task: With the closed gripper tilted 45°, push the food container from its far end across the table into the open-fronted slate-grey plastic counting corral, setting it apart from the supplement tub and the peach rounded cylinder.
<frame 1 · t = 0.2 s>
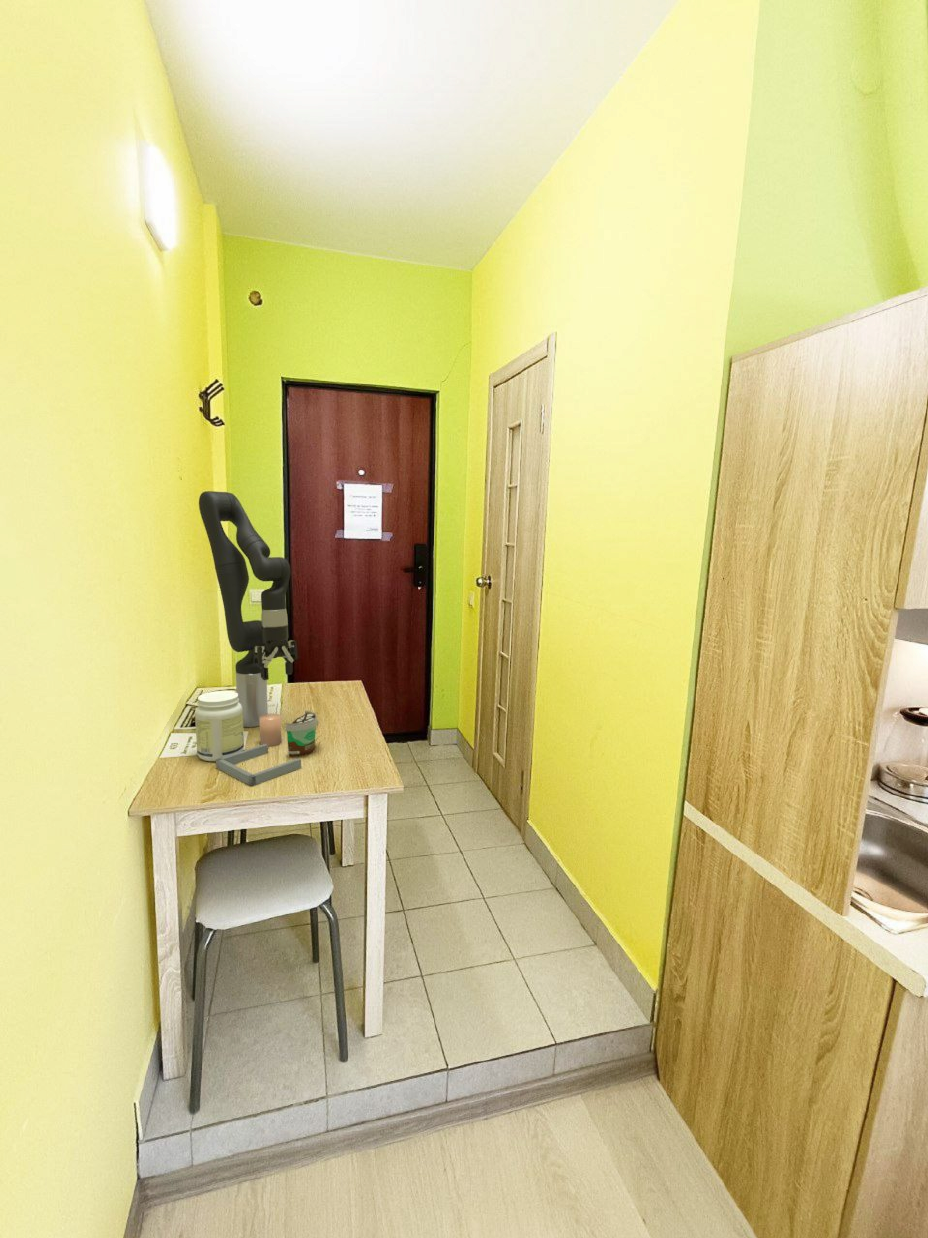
hand: (277, 677, 177), 18 cm above the table, tool pointing down, fingers open, 8 cm apart
counting corral: (258, 768, 155), on the table
supplement tub: (221, 754, 163), on the table
peach rounded cylinder: (271, 742, 173), on the table
food container: (306, 751, 167), on the table
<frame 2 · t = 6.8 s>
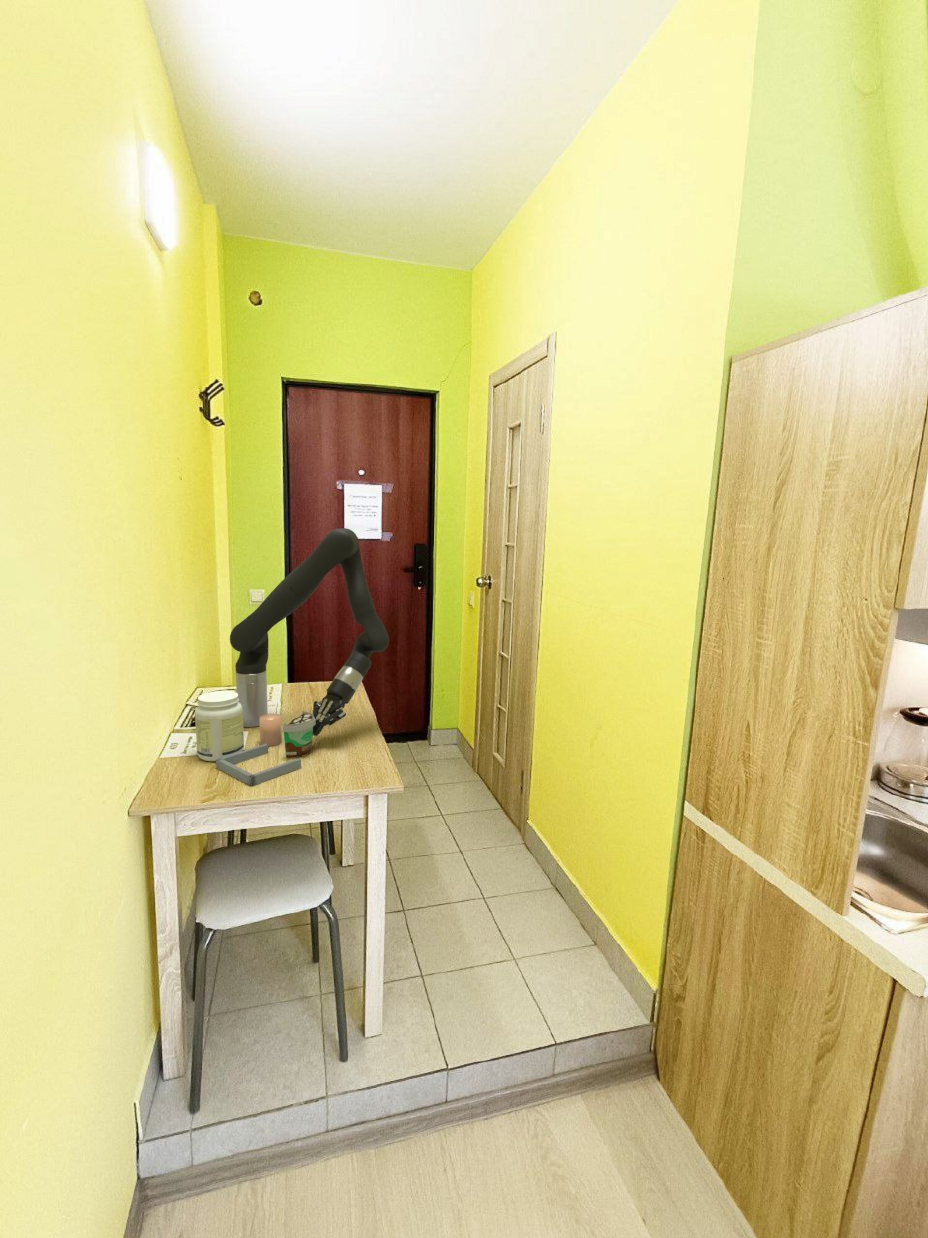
hand: (312, 734, 168), 4 cm above the table, tool tilted 45°, fingers closed
food container: (303, 752, 166), on the table, touching gripper
everything else where it was.
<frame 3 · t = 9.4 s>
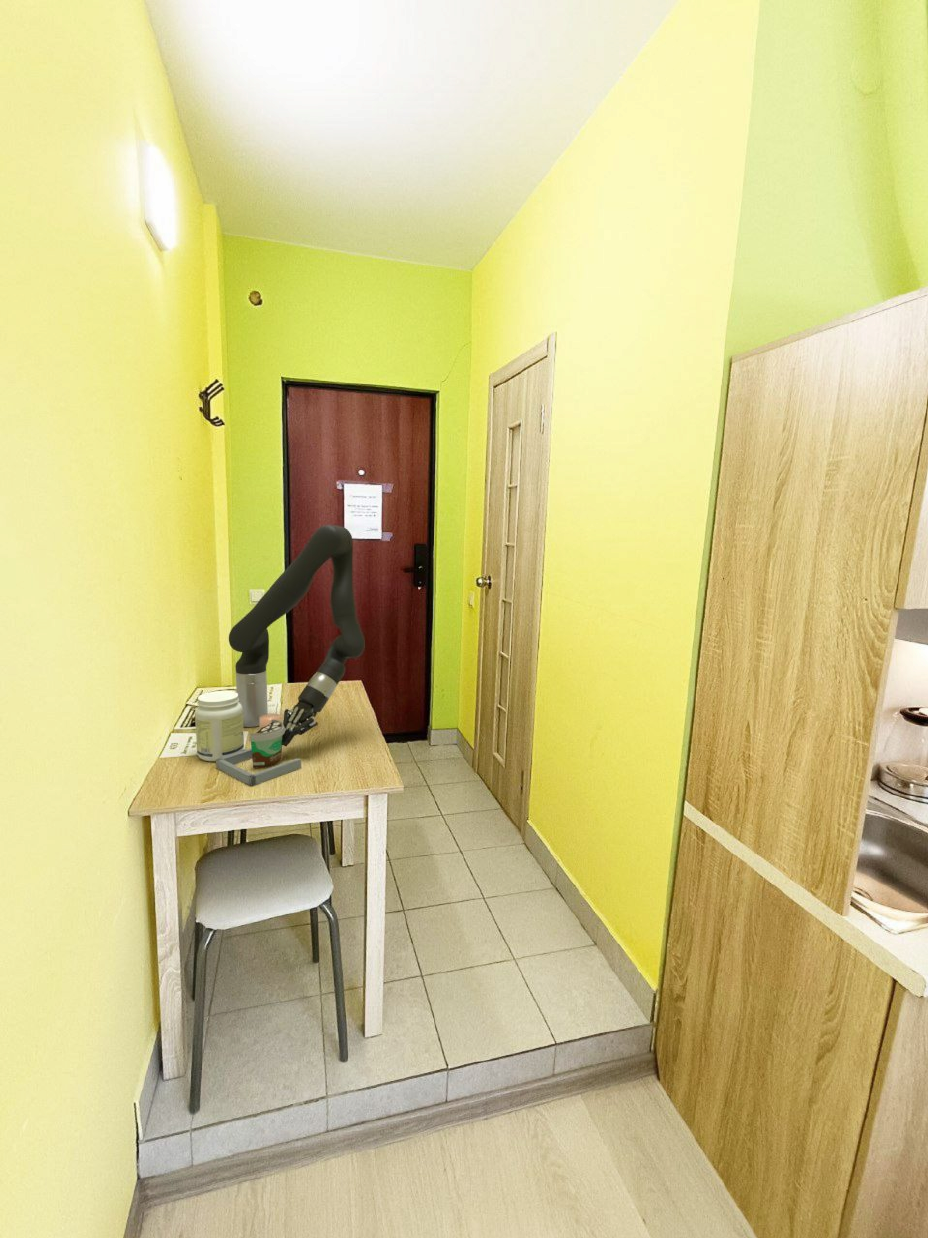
hand: (282, 744, 160), 4 cm above the table, tool tilted 45°, fingers closed
food container: (272, 762, 159), on the table, touching gripper
everything else where it was.
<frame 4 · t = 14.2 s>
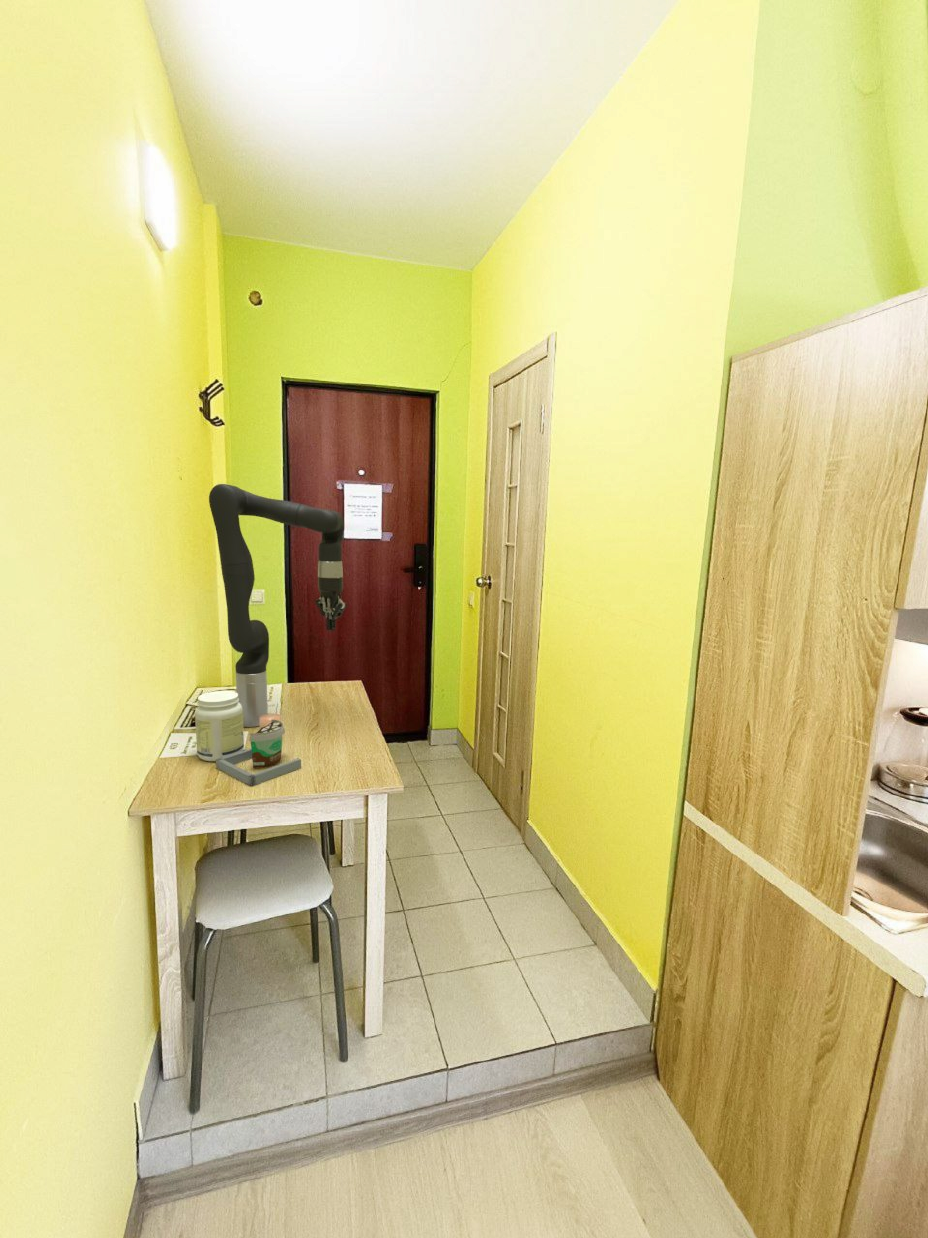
hand: (331, 630, 184), 31 cm above the table, tool pointing down, fingers closed
food container: (272, 762, 159), on the table
everything else where it was.
at the end: food container inside the target area (4.9 cm from its centre), on the table; food container tilted 0°; food container moved 10.7 cm from its start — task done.
